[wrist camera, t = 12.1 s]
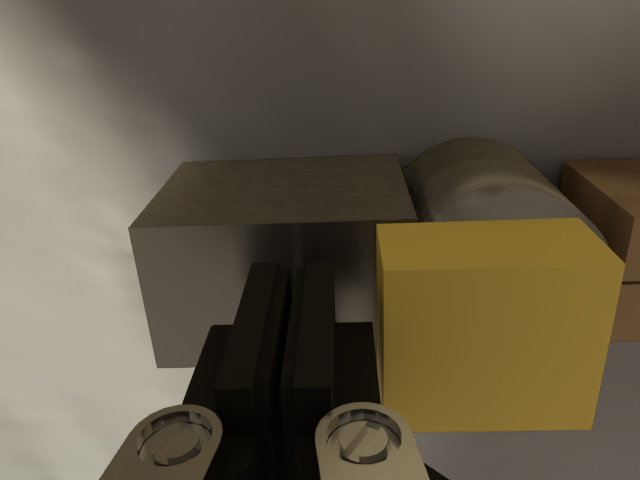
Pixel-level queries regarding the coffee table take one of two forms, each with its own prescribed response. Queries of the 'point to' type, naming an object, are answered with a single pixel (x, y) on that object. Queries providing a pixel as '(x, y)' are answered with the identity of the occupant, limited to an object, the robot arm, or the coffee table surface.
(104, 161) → the coffee table surface
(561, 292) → the tab
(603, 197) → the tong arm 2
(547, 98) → the coffee table surface
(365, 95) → the coffee table surface
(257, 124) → the coffee table surface
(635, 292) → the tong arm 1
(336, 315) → the tong hinge
